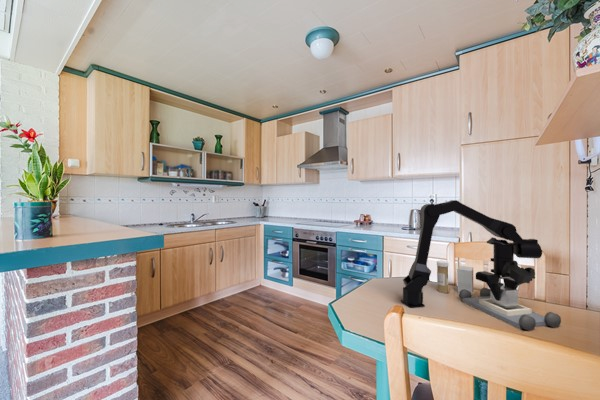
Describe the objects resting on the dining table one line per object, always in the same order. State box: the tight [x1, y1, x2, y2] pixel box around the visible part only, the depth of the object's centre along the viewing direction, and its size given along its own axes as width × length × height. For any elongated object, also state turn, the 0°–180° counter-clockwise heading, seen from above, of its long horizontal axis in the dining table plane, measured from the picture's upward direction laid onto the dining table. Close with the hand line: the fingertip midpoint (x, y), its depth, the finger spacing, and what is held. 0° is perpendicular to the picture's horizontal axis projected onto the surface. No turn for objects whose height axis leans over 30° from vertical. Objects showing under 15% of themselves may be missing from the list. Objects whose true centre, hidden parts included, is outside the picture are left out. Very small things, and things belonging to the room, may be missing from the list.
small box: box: [456, 265, 474, 296], centre depth 114 cm, size 8×6×10 cm
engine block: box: [490, 285, 519, 308], centre depth 92 cm, size 5×6×6 cm
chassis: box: [458, 287, 562, 332], centre depth 92 cm, size 14×25×4 cm, turn 11°
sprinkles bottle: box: [436, 260, 449, 294], centre depth 114 cm, size 5×5×14 cm
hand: (503, 299), depth 92 cm, fingers closed on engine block, 5 cm apart
